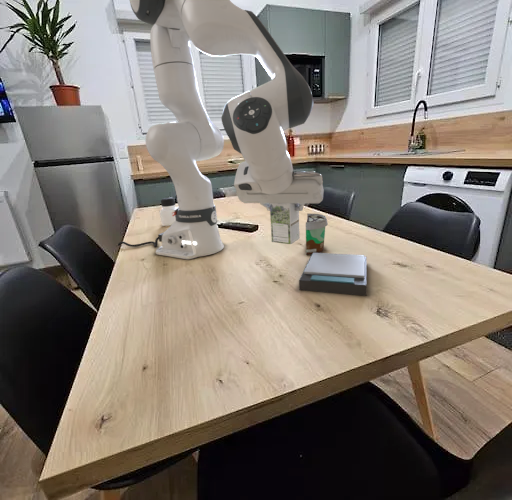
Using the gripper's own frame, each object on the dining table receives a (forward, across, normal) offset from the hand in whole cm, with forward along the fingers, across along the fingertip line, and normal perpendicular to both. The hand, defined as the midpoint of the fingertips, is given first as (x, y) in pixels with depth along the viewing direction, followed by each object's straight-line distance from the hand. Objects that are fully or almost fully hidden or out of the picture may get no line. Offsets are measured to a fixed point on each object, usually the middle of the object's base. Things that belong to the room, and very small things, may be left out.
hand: (285, 208), depth 76 cm
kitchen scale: (+7, -13, +15) cm, 21 cm away
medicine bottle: (+40, +65, -17) cm, 78 cm away
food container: (+20, -6, +2) cm, 21 cm away
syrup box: (+6, 0, +6) cm, 9 cm away
